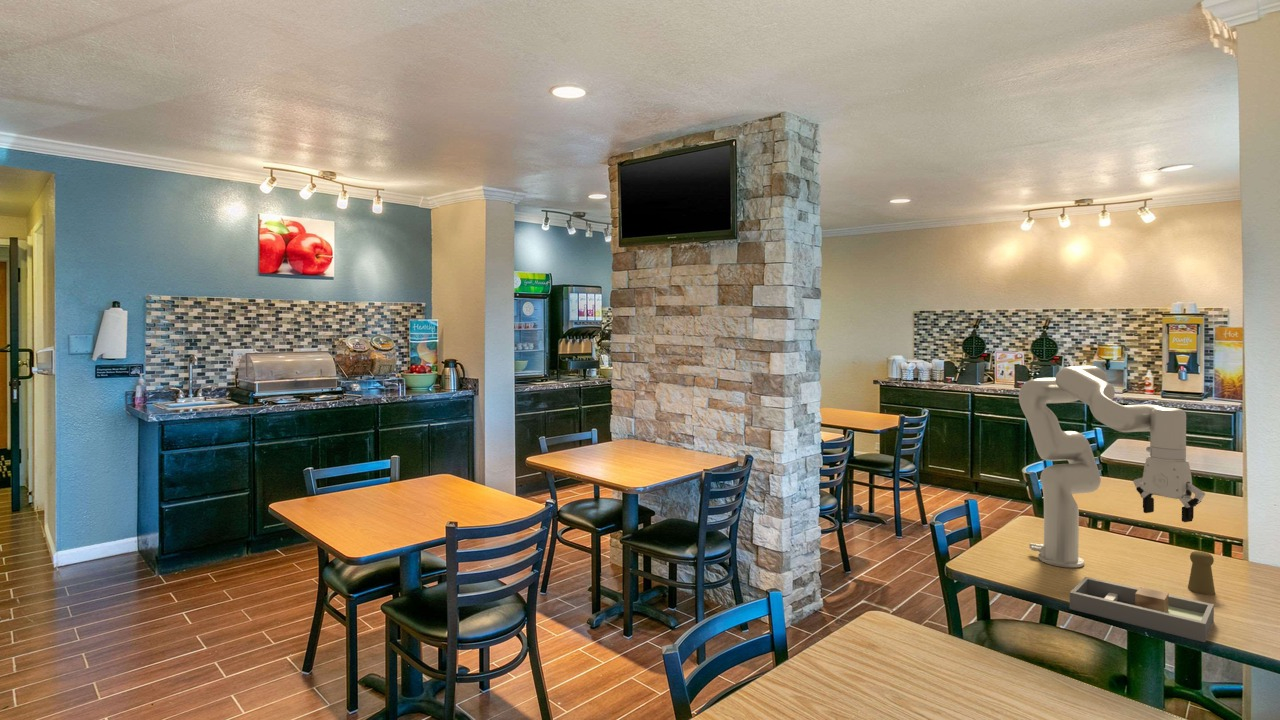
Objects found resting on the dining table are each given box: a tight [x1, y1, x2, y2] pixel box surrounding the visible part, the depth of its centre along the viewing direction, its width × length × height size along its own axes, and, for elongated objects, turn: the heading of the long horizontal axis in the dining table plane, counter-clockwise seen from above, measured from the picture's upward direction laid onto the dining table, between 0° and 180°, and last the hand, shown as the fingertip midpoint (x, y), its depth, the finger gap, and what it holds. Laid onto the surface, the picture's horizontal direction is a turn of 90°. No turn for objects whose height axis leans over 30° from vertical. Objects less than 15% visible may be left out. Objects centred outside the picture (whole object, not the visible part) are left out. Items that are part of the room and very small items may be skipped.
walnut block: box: [1135, 586, 1170, 613], centre depth 172 cm, size 6×6×4 cm
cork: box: [1187, 550, 1216, 596], centre depth 189 cm, size 6×6×11 cm
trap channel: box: [1069, 576, 1215, 643], centre depth 174 cm, size 28×16×4 cm, turn 44°
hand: (1167, 516), depth 179 cm, fingers open, 9 cm apart
